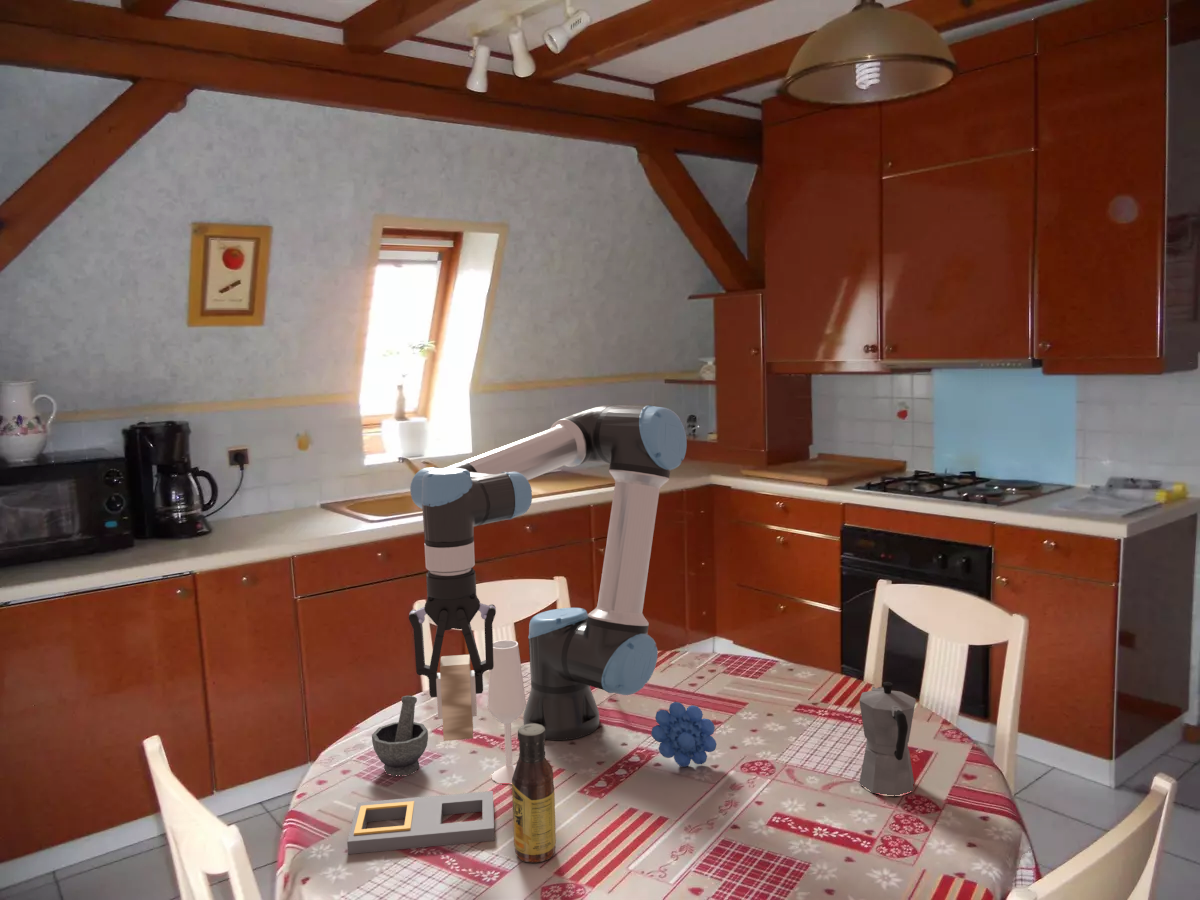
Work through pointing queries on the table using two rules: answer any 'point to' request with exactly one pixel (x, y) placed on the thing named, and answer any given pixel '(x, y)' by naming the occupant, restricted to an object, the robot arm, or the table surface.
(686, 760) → the blue flower
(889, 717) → the coffeepot
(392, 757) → the mortar and pestle
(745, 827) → the table surface
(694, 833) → the table surface
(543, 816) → the sauce bottle
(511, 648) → the champagne flute
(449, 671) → the wooden peg
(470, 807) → the peg board
